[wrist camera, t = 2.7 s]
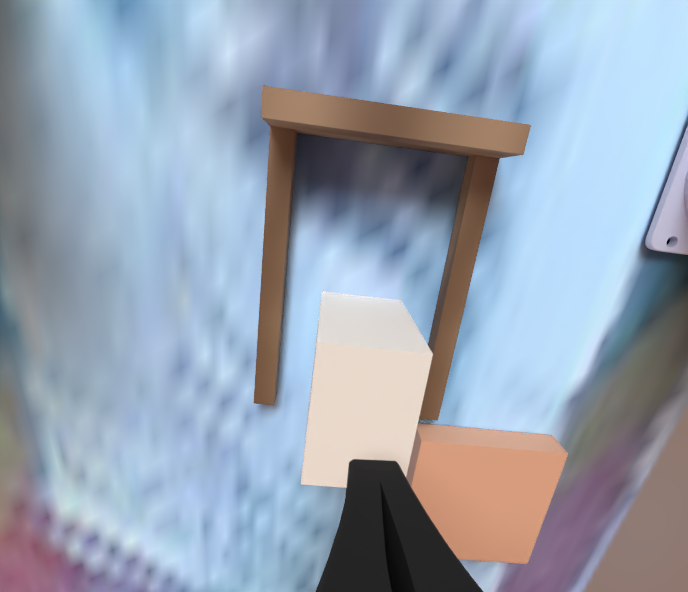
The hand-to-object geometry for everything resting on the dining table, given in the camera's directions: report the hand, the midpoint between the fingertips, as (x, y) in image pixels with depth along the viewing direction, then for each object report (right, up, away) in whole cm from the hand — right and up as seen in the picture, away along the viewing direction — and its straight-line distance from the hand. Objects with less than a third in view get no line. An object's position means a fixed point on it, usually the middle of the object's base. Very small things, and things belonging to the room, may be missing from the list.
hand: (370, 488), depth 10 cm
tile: (+7, -6, +11) cm, 14 cm away
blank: (0, +3, +9) cm, 9 cm away
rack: (0, +6, +7) cm, 10 cm away
